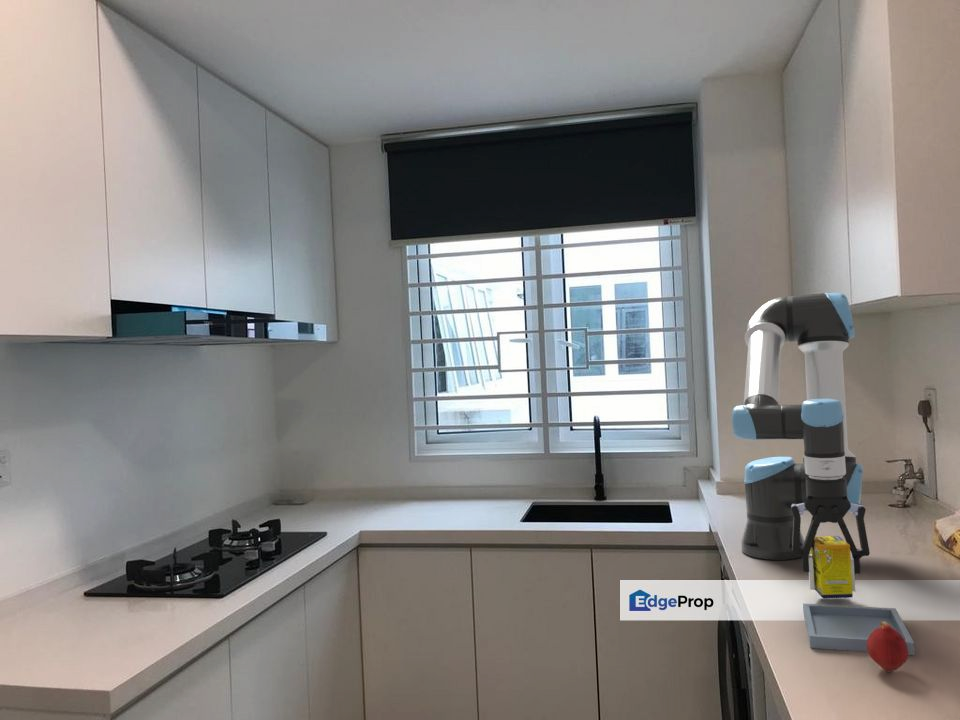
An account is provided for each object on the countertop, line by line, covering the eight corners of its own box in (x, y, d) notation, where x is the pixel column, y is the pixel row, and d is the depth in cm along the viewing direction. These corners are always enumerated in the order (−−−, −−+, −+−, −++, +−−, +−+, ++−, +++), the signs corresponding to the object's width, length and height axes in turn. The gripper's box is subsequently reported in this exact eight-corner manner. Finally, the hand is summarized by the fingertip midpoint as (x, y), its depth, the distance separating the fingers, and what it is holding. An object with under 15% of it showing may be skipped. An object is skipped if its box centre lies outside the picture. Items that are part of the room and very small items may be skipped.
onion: (895, 662, 121) (892, 613, 121) (917, 677, 115) (914, 627, 115) (861, 664, 121) (858, 616, 121) (881, 680, 115) (878, 630, 115)
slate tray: (803, 614, 143) (802, 603, 143) (896, 619, 138) (895, 608, 138) (810, 647, 128) (809, 635, 128) (914, 655, 123) (914, 642, 123)
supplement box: (811, 588, 153) (808, 536, 152) (841, 587, 152) (839, 535, 151) (821, 599, 147) (818, 544, 146) (853, 598, 146) (850, 543, 146)
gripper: (773, 479, 148) (780, 592, 149) (883, 479, 142) (890, 597, 142) (772, 472, 155) (778, 579, 156) (877, 472, 149) (883, 584, 149)
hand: (832, 588), depth 149 cm, fingers closed on supplement box, 7 cm apart
